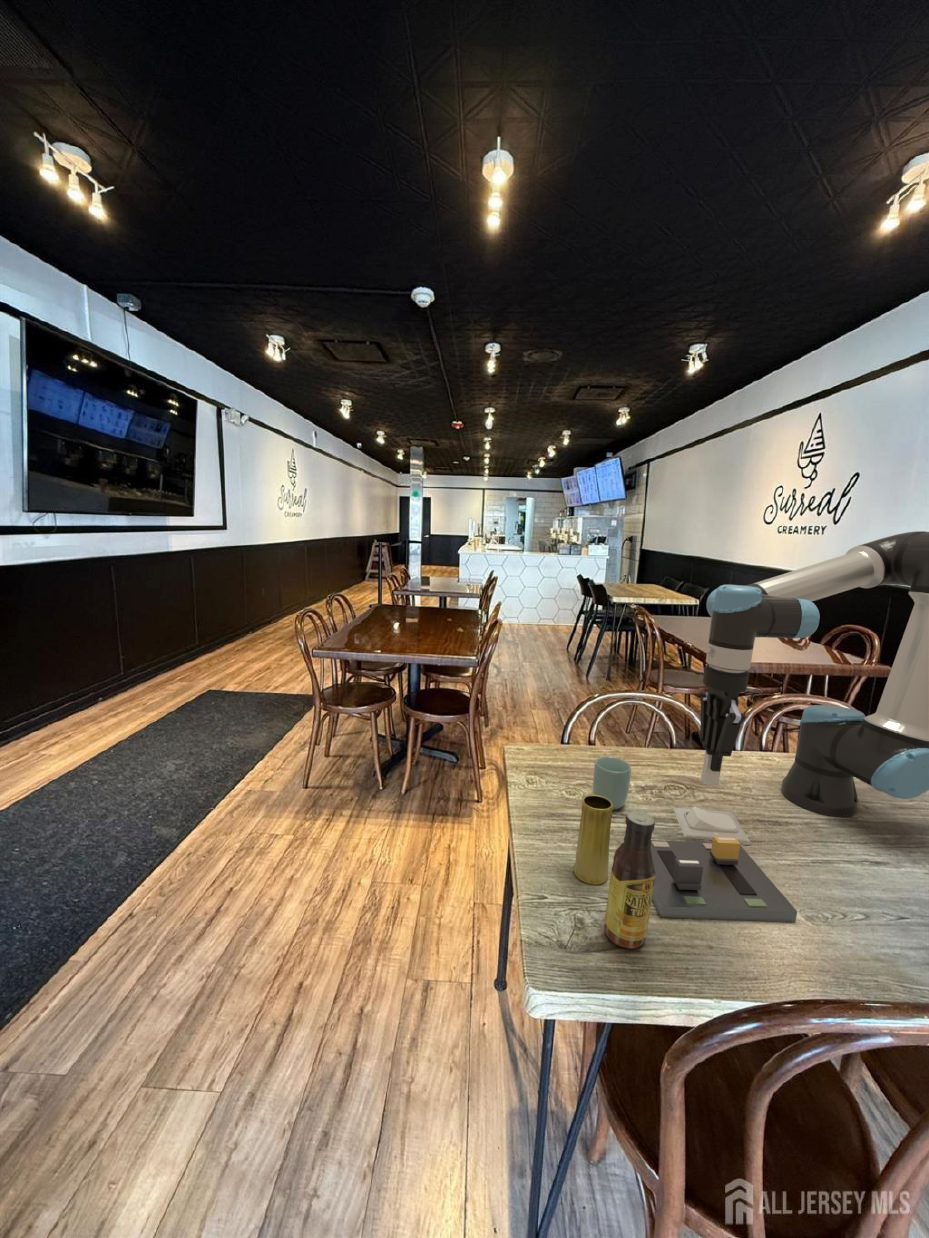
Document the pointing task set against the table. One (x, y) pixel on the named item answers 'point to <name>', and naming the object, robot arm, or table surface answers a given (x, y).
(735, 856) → the lever
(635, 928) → the sauce bottle
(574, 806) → the table surface
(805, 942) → the table surface
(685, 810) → the light switch
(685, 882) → the lever
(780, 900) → the breaker panel
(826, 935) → the table surface
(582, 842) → the vase
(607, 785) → the cup
